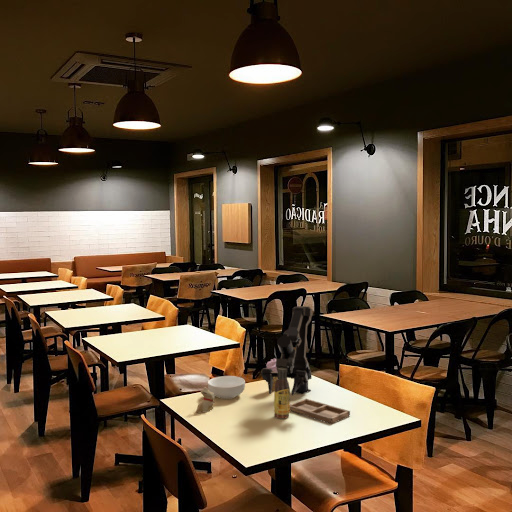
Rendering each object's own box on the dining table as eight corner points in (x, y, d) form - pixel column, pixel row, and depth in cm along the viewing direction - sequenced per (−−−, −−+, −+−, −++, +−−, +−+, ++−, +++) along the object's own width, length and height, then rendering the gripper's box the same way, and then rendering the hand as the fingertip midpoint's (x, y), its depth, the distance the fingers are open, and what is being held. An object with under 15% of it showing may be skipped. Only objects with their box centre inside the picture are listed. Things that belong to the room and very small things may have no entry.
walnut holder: (306, 403, 244) (306, 398, 243) (349, 415, 227) (349, 411, 227) (287, 410, 235) (287, 405, 235) (331, 423, 219) (331, 418, 219)
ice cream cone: (283, 390, 262) (282, 358, 261) (274, 393, 257) (273, 361, 256) (272, 387, 266) (271, 356, 265) (263, 390, 262) (263, 359, 261)
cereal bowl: (201, 395, 256) (200, 380, 256) (230, 388, 267) (230, 373, 266) (222, 405, 243) (221, 389, 243) (252, 397, 253) (252, 381, 253)
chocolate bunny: (215, 411, 235) (214, 388, 235) (196, 412, 234) (195, 389, 233) (214, 407, 241) (213, 384, 240) (195, 408, 239) (195, 385, 239)
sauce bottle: (278, 420, 224) (278, 371, 222) (271, 415, 229) (270, 367, 228) (293, 417, 227) (292, 368, 225) (285, 412, 232) (284, 365, 231)
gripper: (261, 348, 232) (254, 382, 223) (306, 351, 227) (300, 386, 217) (267, 362, 241) (260, 396, 231) (310, 365, 235) (305, 399, 225)
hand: (280, 394), depth 226 cm, fingers open, 9 cm apart
